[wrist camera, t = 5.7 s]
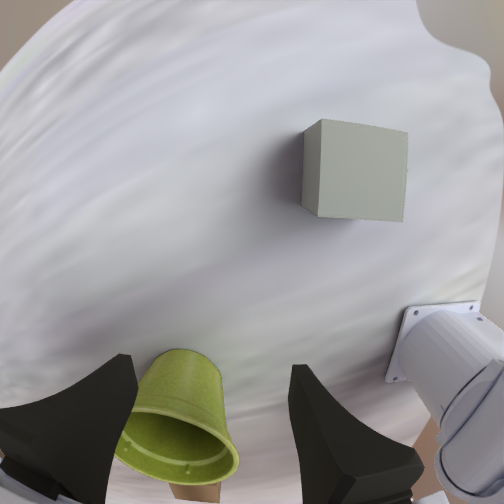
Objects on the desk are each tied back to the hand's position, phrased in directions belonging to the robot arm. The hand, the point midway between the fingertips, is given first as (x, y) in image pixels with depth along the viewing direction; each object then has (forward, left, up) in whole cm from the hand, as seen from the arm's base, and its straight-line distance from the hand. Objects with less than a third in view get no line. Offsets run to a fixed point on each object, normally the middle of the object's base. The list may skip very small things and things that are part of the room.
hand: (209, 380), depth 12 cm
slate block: (-7, -9, -10) cm, 15 cm away
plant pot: (+3, +8, -10) cm, 13 cm away
